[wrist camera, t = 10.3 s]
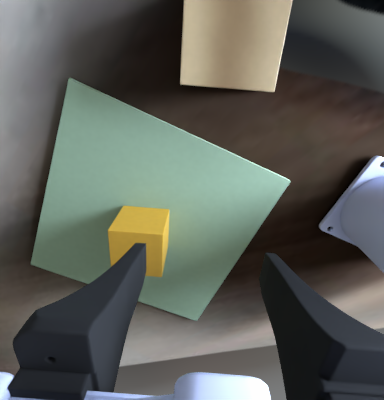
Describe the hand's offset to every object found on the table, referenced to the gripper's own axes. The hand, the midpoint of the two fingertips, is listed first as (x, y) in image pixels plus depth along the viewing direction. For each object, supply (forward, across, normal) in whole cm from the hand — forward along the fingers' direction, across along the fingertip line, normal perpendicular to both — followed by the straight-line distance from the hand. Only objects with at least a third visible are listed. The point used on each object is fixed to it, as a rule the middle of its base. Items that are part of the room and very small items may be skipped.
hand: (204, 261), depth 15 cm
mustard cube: (+9, +5, +3) cm, 11 cm away
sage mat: (+9, +5, +3) cm, 11 cm away
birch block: (+9, -1, -12) cm, 16 cm away
